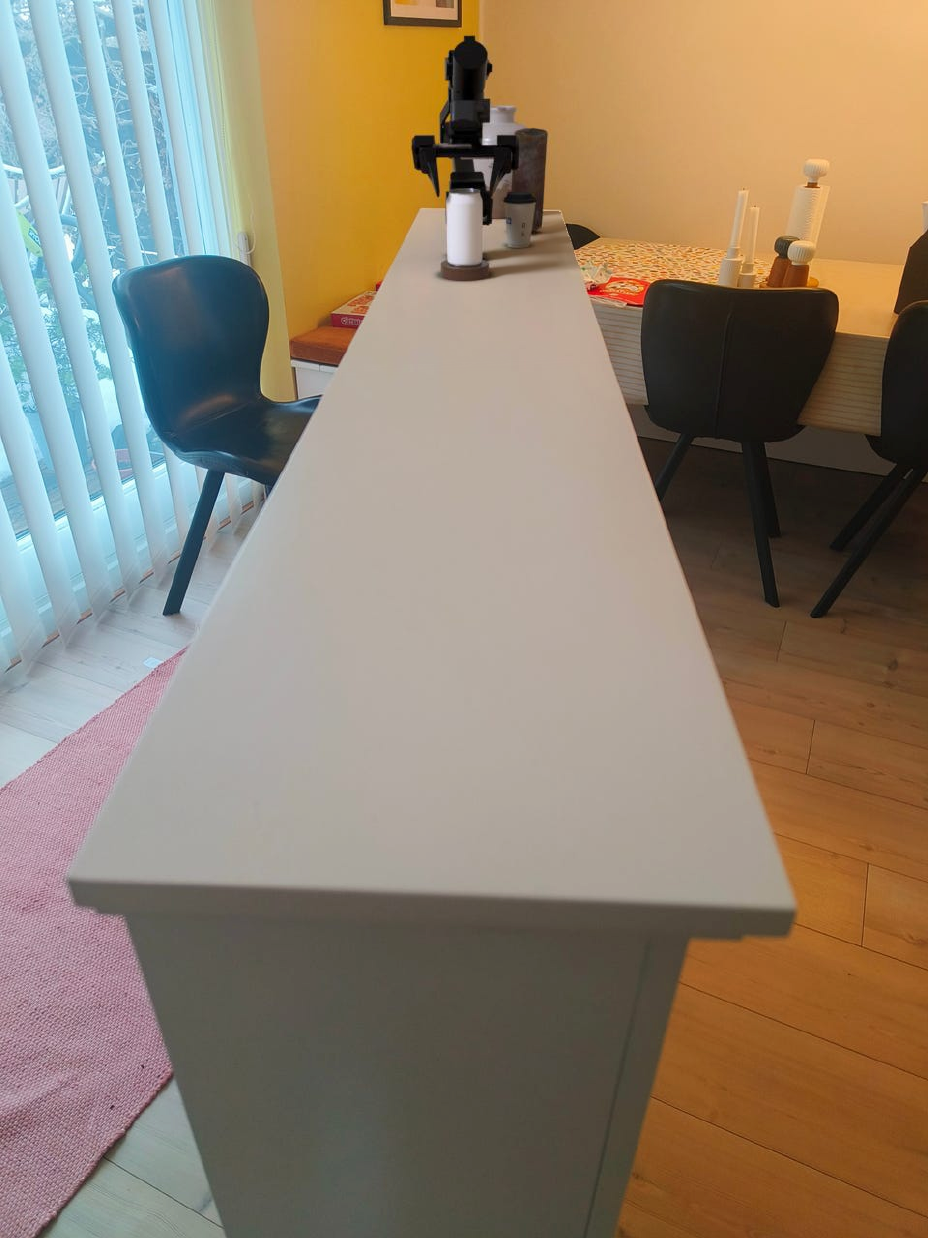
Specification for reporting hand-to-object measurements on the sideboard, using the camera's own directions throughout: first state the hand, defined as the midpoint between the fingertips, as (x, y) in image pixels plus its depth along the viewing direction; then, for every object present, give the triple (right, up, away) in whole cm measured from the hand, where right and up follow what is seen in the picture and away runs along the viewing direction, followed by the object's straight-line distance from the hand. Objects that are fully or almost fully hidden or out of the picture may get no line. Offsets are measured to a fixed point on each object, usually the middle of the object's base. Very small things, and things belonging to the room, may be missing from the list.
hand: (464, 195), depth 142 cm
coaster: (0, -10, +10) cm, 14 cm away
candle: (+14, +13, +42) cm, 47 cm away
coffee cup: (+11, +5, +31) cm, 33 cm away
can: (0, -8, +9) cm, 12 cm away
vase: (+9, +26, +60) cm, 66 cm away
